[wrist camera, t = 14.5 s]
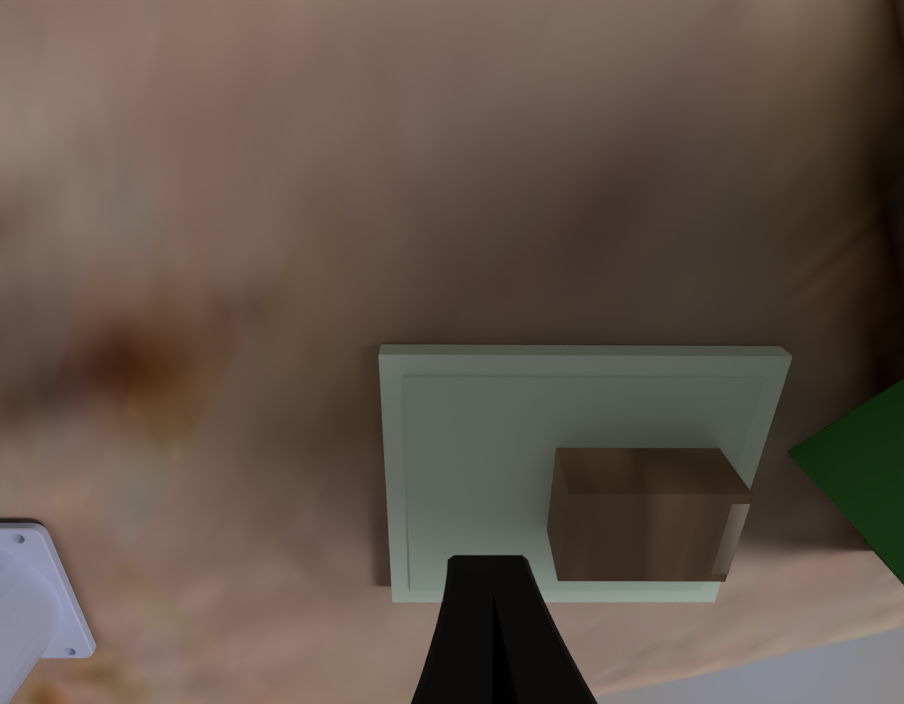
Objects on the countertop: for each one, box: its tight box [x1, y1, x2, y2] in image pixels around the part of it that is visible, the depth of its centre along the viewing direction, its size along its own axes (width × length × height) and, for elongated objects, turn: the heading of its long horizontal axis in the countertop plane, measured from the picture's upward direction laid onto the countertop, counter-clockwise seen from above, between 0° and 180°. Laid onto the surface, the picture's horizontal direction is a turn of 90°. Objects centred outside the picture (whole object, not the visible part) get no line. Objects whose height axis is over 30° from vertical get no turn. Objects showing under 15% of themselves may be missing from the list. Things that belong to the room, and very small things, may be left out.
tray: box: [378, 344, 793, 602], centre depth 22 cm, size 14×12×1 cm
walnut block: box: [547, 448, 753, 582], centre depth 20 cm, size 2×4×6 cm
